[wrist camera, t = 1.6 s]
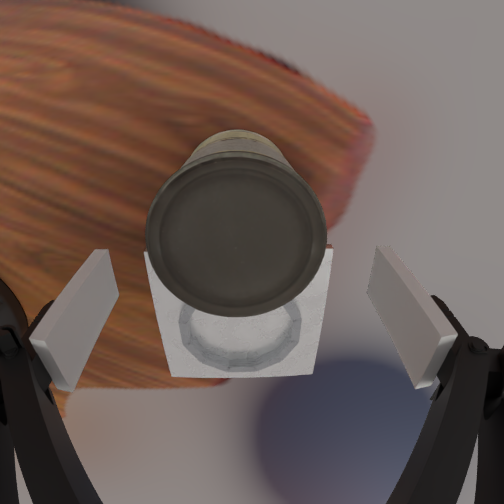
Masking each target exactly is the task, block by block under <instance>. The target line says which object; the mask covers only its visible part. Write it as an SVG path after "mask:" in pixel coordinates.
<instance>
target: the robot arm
mask: <svg viewBox="0 0 504 504" xmlns="http://www.w3.org/2000/svg"><path fill="white" fill-rule="evenodd" d="M367 294H368V296H369V298H370V300H371V301H372V303H373V305H374V307H375V309H376V310H377V313H378V315H379V316H380V318H381V320H382V322H383V324H384V326H385V328H386V330H387V332H388V334H389V336H390V338H391V340H392V342H393V344H394V346H395V348H396V350H397V352H398V354H399V356H400V358H401V360H402V362H403V364H404V366H405V368H406V370H407V372H408V375H409V377H410V379H411V381H412V383H413V385H414V387H415V389H418V388H422V387H427V386H430V385H431V384H432V383H433V381H434V379H435V377H436V376H437V377H438V378H439V380H440V384H439V385H438V387H437V389H436V390H435V392H434V394H433V396H432V397H431V398H430V400H433V401H432V404H431V407H430V410H429V412H428V415H427V418H426V420H425V423H424V425H423V428H422V430H421V433H420V435H419V438H418V440H417V443H416V445H415V447H414V449H413V451H412V454H411V456H410V458H409V460H408V462H407V464H406V467H405V469H404V471H403V473H402V475H401V477H400V479H399V481H398V482H397V484H396V486H395V488H394V490H393V492H392V494H391V496H390V497H389V499H388V501H387V503H386V504H456V503H457V500H458V497H459V495H460V492H461V489H462V486H463V483H464V480H465V477H466V474H467V471H468V468H469V465H470V461H471V458H472V454H473V450H474V447H475V443H476V439H477V435H478V465H477V482H476V493H475V502H474V504H504V346H503V348H502V349H491V348H489V346H488V345H487V343H485V342H484V341H483V340H482V339H480V338H478V337H474V336H470V337H469V335H468V334H467V333H466V331H465V330H464V328H463V327H462V326H461V324H460V323H459V322H458V320H457V319H456V317H454V315H453V313H452V312H451V311H449V308H448V307H447V306H446V304H445V303H444V302H443V301H442V300H440V299H439V298H438V297H436V296H435V295H431V296H430V295H429V294H428V292H427V291H426V290H425V289H424V287H423V286H422V285H421V283H420V282H419V281H418V280H417V278H416V277H415V276H414V275H413V273H412V272H411V271H410V270H409V268H408V267H407V266H406V265H405V264H404V262H403V261H402V260H401V259H400V258H399V256H398V255H397V254H396V253H395V252H394V251H393V249H392V248H391V247H390V246H377V247H376V252H375V257H374V262H373V267H372V271H371V276H370V281H369V285H368V289H367ZM118 297H119V292H118V288H117V285H116V281H115V277H114V273H113V268H112V264H111V260H110V255H109V251H108V249H95V250H94V251H93V252H92V254H91V255H90V256H89V257H88V259H87V260H86V261H85V262H84V263H83V265H82V266H81V267H80V269H79V270H78V271H77V272H76V274H75V275H74V276H73V277H72V279H71V280H70V281H69V283H68V284H67V285H66V287H65V288H64V289H63V291H62V292H61V293H60V295H59V296H58V297H57V299H56V300H52V301H50V302H49V303H48V304H46V305H45V306H44V307H43V308H42V310H41V311H40V312H39V314H38V316H36V318H35V319H34V322H32V323H31V325H30V326H29V328H28V324H27V320H26V317H25V314H24V312H23V310H22V308H21V306H20V304H19V302H18V301H17V299H16V297H15V296H14V295H13V293H12V292H11V291H10V289H9V288H8V287H7V286H6V285H5V284H4V283H3V282H2V281H1V280H0V504H19V499H18V490H17V482H16V471H15V457H14V448H15V451H16V455H17V459H18V462H19V465H20V468H21V471H22V474H23V477H24V480H25V483H26V486H27V489H28V491H29V494H30V497H31V499H32V502H33V504H103V503H102V501H101V499H100V498H99V496H98V494H97V492H96V490H95V489H94V487H93V485H92V483H91V481H90V479H89V478H88V476H87V474H86V472H85V470H84V468H83V466H82V464H81V462H80V460H79V458H78V455H77V454H76V451H75V449H74V447H73V445H72V442H71V440H70V438H69V435H68V433H67V431H66V428H65V426H64V423H63V421H62V418H61V416H60V413H59V410H58V408H57V405H56V402H55V399H54V396H53V394H52V391H51V390H50V388H49V385H50V383H51V381H53V382H54V384H55V386H56V387H57V389H59V390H64V391H69V392H73V391H74V389H75V387H76V384H77V382H78V380H79V377H80V375H81V373H82V371H83V368H84V366H85V364H86V362H87V360H88V357H89V355H90V353H91V351H92V349H93V347H94V345H95V343H96V341H97V338H98V336H99V334H100V332H101V330H102V328H103V326H104V324H105V322H106V320H107V318H108V316H109V314H110V312H111V310H112V308H113V307H114V305H115V303H116V301H117V299H118Z"/></svg>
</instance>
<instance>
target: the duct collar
mask: <svg viewBox="0 0 504 504" xmlns="http://www.w3.org/2000/svg"><path fill="white" fill-rule="evenodd" d="M333 249H334V248H333V247H332V245H331V244H326V250H325V255H324V258H323V260H322V263H321V265H320V267H319V270H318V272H317V273H316V275H315V277H314V278H313V280H312V281H311V282H310V283H309V285H308V286H307V287H306V288H305V289H304V290H303V291H302V292H301V293H300V294H299V295H298V296H296V297H295V298H294V299H293V300H291V301H290V302H288V303H286V304H285V305H283V306H281V307H279V308H277V309H275V310H273V311H270V312H267V313H264V314H260V315H256V316H250V317H223V316H216V315H212V314H208V313H205V312H202V311H199V310H197V309H195V308H193V307H191V306H189V305H187V304H186V303H184V302H182V301H181V300H180V299H178V298H177V297H176V296H175V295H173V294H172V293H171V292H170V291H169V290H168V289H167V288H166V287H165V286H164V285H163V284H162V282H161V281H160V279H159V278H158V276H157V275H156V273H155V271H154V269H153V267H152V265H151V263H150V260H149V257H148V252H147V248H146V249H145V251H144V256H145V262H146V267H147V273H148V278H149V283H150V288H151V293H152V298H153V302H154V307H155V312H156V316H157V321H158V325H159V329H160V333H161V338H162V342H163V346H164V350H165V354H166V357H167V361H168V365H169V369H170V372H171V376H172V377H197V378H244V377H245V378H246V377H274V376H291V375H306V374H312V373H313V368H314V364H315V359H316V354H317V348H318V343H319V337H320V332H321V327H322V321H323V315H324V309H325V304H326V297H327V291H328V284H329V277H330V271H331V263H332V257H333Z"/></svg>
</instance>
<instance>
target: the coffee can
mask: <svg viewBox="0 0 504 504" xmlns="http://www.w3.org/2000/svg"><path fill="white" fill-rule="evenodd" d="M145 240H146V248H147V252H148V257H149V260H150V263H151V265H152V267H153V269H154V271H155V273H156V275H157V276H158V278H159V279H160V281H161V282H162V284H163V285H164V286H165V287H166V288H167V289H168V290H169V291H170V292H171V293H172V294H173V295H175V296H176V297H177V298H178V299H180V300H181V301H182V302H184V303H186V304H187V305H189V306H191V307H193V308H195V309H197V310H199V311H202V312H205V313H208V314H212V315H216V316H223V317H250V316H256V315H260V314H264V313H267V312H270V311H273V310H275V309H277V308H279V307H281V306H283V305H285V304H286V303H288V302H290V301H291V300H293V299H294V298H295V297H296V296H298V295H299V294H300V293H301V292H302V291H303V290H304V289H305V288H306V287H307V286H308V285H309V283H310V282H311V281H312V280H313V278H314V277H315V275H316V273H317V272H318V270H319V267H320V265H321V263H322V260H323V258H324V255H325V250H326V243H327V227H326V220H325V216H324V212H323V209H322V206H321V204H320V202H319V200H318V198H317V196H316V194H315V193H314V191H313V190H312V189H311V187H310V186H309V185H308V183H307V182H306V181H305V180H304V179H303V178H302V177H301V176H300V175H299V174H298V173H297V172H296V171H295V170H294V169H293V168H292V166H291V165H290V164H289V163H288V161H287V160H286V159H285V158H284V156H283V155H282V153H281V152H280V150H279V149H278V148H277V147H276V145H274V144H273V143H272V142H271V141H270V140H268V139H267V138H265V137H263V136H262V135H260V134H257V133H254V132H251V131H246V130H228V131H224V132H220V133H217V134H215V135H213V136H211V137H209V138H208V139H206V140H205V141H203V142H202V143H201V144H200V145H199V146H198V147H197V148H196V149H195V150H194V152H193V153H192V155H191V157H190V158H189V159H188V160H187V161H186V162H185V163H184V165H183V166H182V167H181V168H180V169H179V170H178V171H177V172H175V173H174V174H173V175H172V176H171V177H170V178H169V179H168V180H167V181H166V182H165V183H164V184H163V186H162V187H161V188H160V190H159V191H158V193H157V195H156V196H155V198H154V200H153V202H152V204H151V207H150V209H149V212H148V216H147V221H146V229H145Z"/></svg>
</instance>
